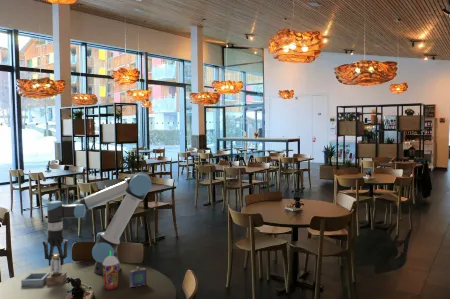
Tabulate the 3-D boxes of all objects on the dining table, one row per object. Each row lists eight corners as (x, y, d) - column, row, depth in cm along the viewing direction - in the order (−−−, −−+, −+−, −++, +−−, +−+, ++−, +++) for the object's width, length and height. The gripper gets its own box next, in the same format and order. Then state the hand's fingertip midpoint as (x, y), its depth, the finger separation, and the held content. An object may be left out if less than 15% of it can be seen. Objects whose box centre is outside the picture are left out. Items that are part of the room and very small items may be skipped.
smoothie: (114, 291, 200) (113, 253, 199) (99, 290, 201) (99, 252, 200) (121, 285, 208) (121, 248, 207) (107, 284, 210) (107, 247, 209)
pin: (62, 280, 216) (62, 253, 215) (59, 283, 211) (58, 256, 210) (53, 280, 215) (53, 254, 215) (50, 283, 211) (49, 256, 210)
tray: (50, 278, 218) (50, 272, 218) (42, 286, 207) (42, 279, 207) (30, 279, 217) (30, 273, 217) (21, 286, 207) (21, 280, 206)
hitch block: (66, 278, 217) (66, 271, 217) (61, 284, 210) (61, 277, 209) (52, 279, 217) (51, 272, 217) (46, 284, 209) (46, 277, 209)
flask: (130, 288, 203) (130, 268, 203) (128, 287, 206) (128, 267, 205) (147, 285, 208) (146, 265, 207) (145, 283, 210) (145, 264, 210)
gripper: (36, 231, 208) (38, 274, 209) (68, 230, 209) (69, 273, 210) (42, 228, 215) (43, 269, 216) (73, 227, 216) (74, 268, 217)
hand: (56, 271), depth 213 cm, fingers open, 4 cm apart
